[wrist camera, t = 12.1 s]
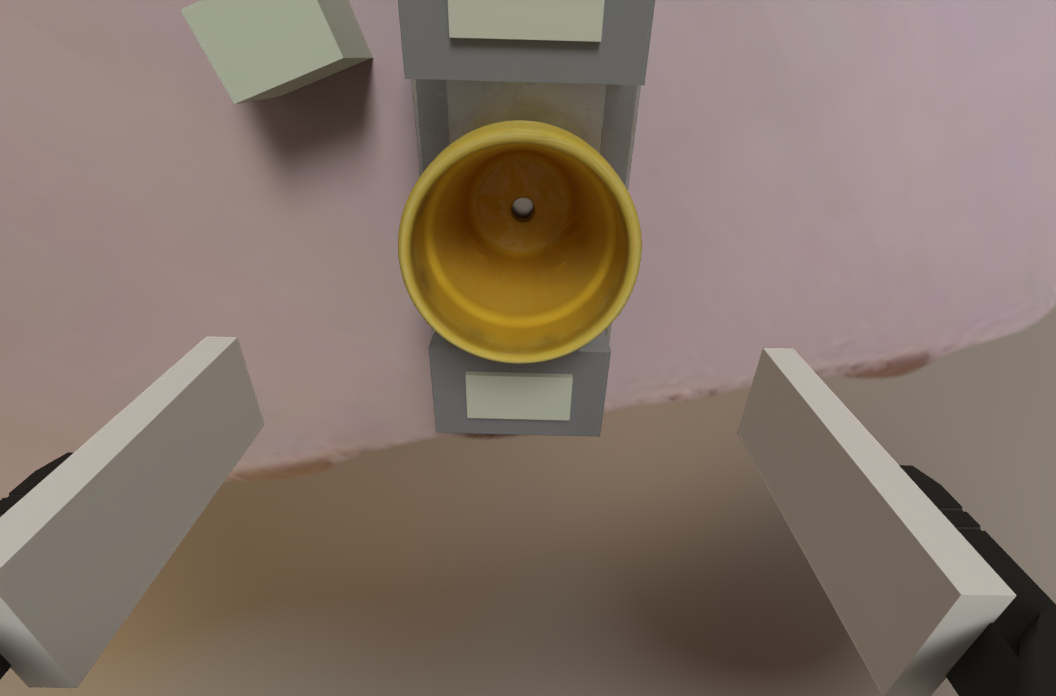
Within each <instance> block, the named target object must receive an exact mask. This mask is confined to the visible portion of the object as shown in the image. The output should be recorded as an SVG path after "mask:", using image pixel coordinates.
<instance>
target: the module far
mask: <svg viewBox="0 0 1056 696" xmlns="http://www.w3.org/2000/svg"><path fill="white" fill-rule="evenodd" d="M610 354H611V352H610V348H609V344H608V340H607V336H606V332H605V330H604V331H603V332H602V333H601V334H600V335H599V336H597V337H596V338H595V339H594V340H592V341H591V342H589V343H588V344H586V345H585V346H583V347H581V348H579V349H578V350H576V351H574V352H572V353H569V354H567V355H564V356H562V357H559V358H556V359H552V360H548V361H543V362H536V363H521V364H515V363H504V362H497V361H492V360H488V359H485V358H481V357H479V356H476V355H473V354H471V353H468V352H466V351H464V350H462V349H460V348H458V347H457V346H455V345H453V344H452V343H450V342H449V341H447V340H446V339H444V338H443V337H442V336H441V335H439V334H438V333H437V332H436V331H435V332H434V335H433V337H432V340H431V343H430V346H429V355H430V367H431V378H432V389H433V400H434V412H435V423H436V432H442V433H481V434H520V435H559V436H560V435H561V436H599V437H600V432H601V425H602V417H603V409H604V401H605V393H606V385H607V378H608V370H609V362H610Z"/></svg>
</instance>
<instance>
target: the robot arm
mask: <svg viewBox="0 0 1056 696" xmlns="http://www.w3.org/2000/svg"><path fill="white" fill-rule="evenodd" d="M263 426H264V421H263V418H262V415H261V412H260V408H259V405H258V402H257V399H256V396H255V392H254V389H253V386H252V383H251V379H250V376H249V373H248V370H247V367H246V363H245V360H244V357H243V354H242V351H241V347H240V344H239V341H238V338H237V337H205V338H204V339H203V340H202V341H201V342H200V343H198V344H197V345H196V346H195V347H194V348H193V349H192V350H190V351H189V352H188V353H187V354H186V355H185V356H184V357H182V358H181V359H180V360H179V361H178V362H177V363H176V364H175V365H173V366H172V367H171V368H170V369H169V370H168V371H167V372H165V373H164V374H163V375H162V376H161V377H160V378H159V379H157V380H156V381H155V382H154V383H153V384H152V385H151V386H149V387H148V388H147V389H146V390H145V391H144V392H143V393H141V394H140V395H139V396H138V397H137V398H136V399H135V400H133V401H132V402H131V403H130V404H129V405H128V406H127V407H125V408H124V409H123V410H122V411H121V412H120V413H119V414H118V415H116V416H115V417H114V418H113V419H112V420H111V421H110V422H108V423H107V424H106V425H105V426H104V427H103V428H102V429H100V430H99V431H98V432H97V433H96V434H95V435H94V436H92V437H91V438H90V439H89V440H88V441H87V442H86V443H84V444H83V445H82V446H81V447H80V448H79V449H78V450H76V451H75V452H74V453H66V454H65V455H63V456H61V457H59V458H58V459H56V460H54V461H52V462H50V463H49V464H47V465H45V466H43V467H42V468H40V469H38V470H36V471H35V472H34V473H32V474H31V475H30V476H29V477H28V478H26V479H25V480H24V481H23V482H22V483H21V484H19V485H18V486H17V487H16V488H15V489H13V490H12V491H11V492H10V493H9V497H8V498H3V499H2V500H0V679H1V678H2V677H3V676H4V674H5V673H6V672H7V671H8V669H9V668H10V667H11V669H12V670H13V671H14V672H15V673H16V674H17V675H18V676H19V677H20V678H21V679H22V680H23V681H24V682H25V683H26V685H27V686H28V687H55V688H57V687H58V688H77V687H78V686H79V684H80V683H81V682H82V680H83V679H84V677H85V676H86V675H87V673H88V672H89V670H90V669H91V668H92V666H93V665H94V663H95V662H96V660H97V659H98V658H99V656H100V655H101V653H102V652H103V651H104V649H105V648H106V646H107V645H108V644H109V642H110V641H111V639H112V638H113V637H114V635H115V634H116V632H117V631H118V629H119V628H120V627H121V625H122V623H123V622H124V621H125V619H126V618H127V617H128V616H129V614H130V613H131V611H132V610H133V608H134V607H135V606H136V604H137V603H138V601H139V600H140V599H141V597H142V596H143V594H144V593H145V592H146V590H147V589H148V587H149V586H150V585H151V583H152V582H153V580H154V579H155V578H156V576H157V575H158V573H159V572H160V571H161V569H162V568H163V566H164V565H165V563H166V562H167V560H168V559H169V558H170V557H171V555H172V554H173V552H174V551H175V549H176V548H177V547H178V545H179V544H180V542H181V541H182V540H183V538H184V537H185V535H186V534H187V533H188V531H189V530H190V528H191V527H192V526H193V524H194V522H195V521H196V520H197V518H198V517H199V516H200V514H201V513H202V512H203V510H204V509H205V507H206V506H207V505H208V503H209V502H210V500H211V499H212V497H213V496H214V495H215V493H216V492H217V490H218V489H219V488H220V486H221V485H222V483H223V482H224V481H225V479H226V478H227V476H228V475H229V474H230V472H231V471H232V469H233V468H234V467H235V465H236V464H237V462H238V461H239V460H240V458H241V457H242V455H243V454H244V453H245V451H246V450H247V448H248V447H249V446H250V444H251V443H252V441H253V440H254V438H255V437H256V436H257V434H258V433H259V431H260V430H261V429H262V427H263ZM737 434H738V436H739V437H740V439H741V441H742V443H743V444H744V446H745V448H746V450H747V452H748V454H749V455H750V457H751V459H752V461H753V463H754V464H755V466H756V468H757V470H758V471H759V473H760V475H761V477H762V479H763V481H764V482H765V484H766V486H767V488H768V489H769V491H770V493H771V495H772V497H773V499H774V500H775V502H776V504H777V506H778V508H779V510H780V511H781V513H782V515H783V517H784V519H785V520H786V522H787V524H788V526H789V527H790V529H791V531H792V533H793V535H794V537H795V538H796V540H797V542H798V544H799V546H800V547H801V549H802V551H803V553H804V554H805V556H806V558H807V560H808V562H809V564H810V565H811V567H812V569H813V571H814V573H815V574H816V576H817V578H818V580H819V582H820V583H821V585H822V587H823V589H824V590H825V592H826V594H827V596H828V598H829V599H830V602H831V603H832V605H833V607H834V608H835V610H836V612H837V614H838V616H839V618H840V620H841V621H842V623H843V625H844V627H845V629H846V630H847V632H848V634H849V636H850V637H851V639H852V641H853V643H854V645H855V647H856V648H857V650H858V652H859V654H860V656H861V657H862V659H863V661H864V663H865V665H866V666H867V668H868V670H869V672H870V674H871V675H872V677H873V679H874V681H875V683H876V684H877V686H878V688H879V690H880V692H881V694H882V695H883V696H931V695H932V694H933V692H934V691H935V690H936V689H937V688H938V687H939V686H940V684H941V683H942V682H943V681H944V680H945V679H946V677H947V679H948V680H949V682H950V683H951V684H952V686H953V687H954V689H955V690H956V692H957V693H958V695H959V696H1056V604H1055V603H1054V602H1053V601H1052V600H1051V599H1050V598H1049V597H1048V596H1047V595H1046V594H1045V593H1044V592H1043V591H1042V590H1041V589H1040V588H1039V587H1038V585H1036V583H1034V581H1033V580H1032V579H1031V578H1030V577H1029V576H1028V575H1027V574H1026V573H1025V572H1024V571H1023V570H1022V569H1021V568H1020V567H1019V566H1018V565H1017V564H1016V563H1015V562H1014V561H1013V559H1012V558H1011V557H1010V556H1009V555H1008V554H1007V553H1006V552H1005V551H1004V550H1003V549H1002V548H1001V547H1000V546H999V545H998V544H997V543H996V542H995V541H994V540H993V539H992V538H991V537H990V536H989V534H988V533H987V532H986V531H981V529H980V525H979V524H978V523H977V522H976V521H975V520H974V519H973V518H972V517H971V516H970V515H969V514H968V513H967V512H963V510H962V506H961V505H960V504H959V503H958V502H957V501H956V500H955V499H954V498H953V497H952V496H951V495H950V494H949V493H948V492H947V491H946V490H945V489H944V488H943V487H942V486H941V485H940V484H939V483H937V482H936V481H934V480H933V479H931V478H930V477H928V476H927V475H925V474H924V473H922V472H921V471H920V470H918V469H917V468H915V467H914V466H903V465H898V464H897V463H896V462H895V461H894V459H893V458H892V457H891V456H890V455H889V454H888V453H887V452H886V451H885V449H884V448H883V447H882V446H881V445H880V444H879V443H878V442H877V441H876V440H875V438H874V437H873V436H872V435H871V434H870V433H869V432H868V431H867V430H866V429H865V427H864V426H863V425H862V424H861V423H860V422H859V421H858V420H857V419H856V417H855V416H854V415H853V414H852V413H851V412H850V411H849V410H848V409H847V408H846V406H845V405H844V404H843V403H842V402H841V401H840V400H839V399H838V397H837V396H836V395H835V394H834V393H833V392H832V391H831V390H830V389H829V388H828V386H827V385H826V384H825V383H824V382H823V381H822V380H821V379H820V378H819V376H818V375H817V374H816V373H815V372H814V371H813V370H812V369H811V368H810V367H809V365H808V364H807V363H806V362H805V361H804V360H803V359H802V358H801V357H800V355H799V354H798V353H797V352H796V351H795V350H794V349H785V348H763V350H762V353H761V357H760V360H759V363H758V366H757V370H756V373H755V376H754V379H753V383H752V386H751V389H750V392H749V396H748V399H747V402H746V406H745V409H744V412H743V415H742V419H741V422H740V425H739V428H738V432H737Z"/></svg>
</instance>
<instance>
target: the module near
mask: <svg viewBox="0 0 1056 696" xmlns="http://www.w3.org/2000/svg"><path fill="white" fill-rule="evenodd" d="M654 5H655V0H398V7H399V18H400V29H401V41H402V52H403V63H404V74H405V79H432V80H468V81H504V82H540V83H576V84H612V85H644V84H645V76H646V68H647V60H648V52H649V44H650V37H651V29H652V21H653V13H654Z"/></svg>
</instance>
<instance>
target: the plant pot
mask: <svg viewBox="0 0 1056 696" xmlns="http://www.w3.org/2000/svg"><path fill="white" fill-rule="evenodd" d="M519 198H528V199H529V200H531V201H532V203H533V206H534V209H533V212H532V214H531V215H530V216H529V217H528V218H523V219H522V218H519V217H517V216H516V215H515V214H514V212H513V209H512V207H513V203H514V202H515V201H516V200H517V199H519ZM641 250H642V240H641V230H640V224H639V220H638V216H637V212H636V209H635V206H634V204H633V201H632V199H631V197H630V194H629V192H628V190H627V189H626V187H625V185H624V184H623V182H622V181H621V179H620V177H619V176H618V174H617V173H616V172H615V171H614V169H613V168H612V167H611V165H610V164H609V163H608V162H607V161H606V160H605V159H604V158H603V157H602V156H601V155H600V154H599V153H598V152H597V151H596V150H595V149H594V148H593V147H591V146H590V145H589V144H588V143H586V142H585V141H584V140H582V139H580V138H579V137H577V136H576V135H574V134H572V133H570V132H568V131H566V130H564V129H561V128H559V127H556V126H553V125H550V124H546V123H542V122H536V121H524V120H513V121H504V122H498V123H493V124H490V125H487V126H483V127H481V128H478V129H476V130H473V131H471V132H469V133H467V134H465V135H464V136H462V137H461V138H459V139H457V140H456V141H454V142H453V143H452V144H450V145H449V146H448V147H446V148H445V149H444V150H443V151H442V152H441V153H440V154H439V155H438V156H437V157H436V158H435V159H434V160H433V161H432V162H431V163H430V164H429V166H428V167H427V168H426V169H425V171H424V172H423V173H422V175H421V176H420V178H419V179H418V181H417V182H416V184H415V186H414V187H413V189H412V191H411V193H410V195H409V197H408V200H407V202H406V205H405V207H404V211H403V214H402V218H401V223H400V228H399V237H398V254H399V263H400V269H401V273H402V277H403V280H404V283H405V286H406V289H407V291H408V293H409V296H410V298H411V300H412V301H413V303H414V305H415V306H416V308H417V310H418V311H419V313H420V314H421V315H422V317H423V318H424V319H425V320H426V322H427V323H428V324H429V325H430V326H431V327H432V328H433V329H434V330H435V331H436V332H437V333H438V334H439V335H441V336H442V337H443V338H444V339H446V340H447V341H449V342H450V343H452V344H453V345H455V346H457V347H458V348H460V349H462V350H464V351H466V352H468V353H471V354H473V355H476V356H479V357H481V358H485V359H488V360H492V361H497V362H504V363H515V364H521V363H536V362H543V361H548V360H552V359H556V358H559V357H562V356H564V355H567V354H569V353H572V352H574V351H576V350H578V349H579V348H581V347H583V346H585V345H586V344H588V343H589V342H591V341H592V340H594V339H595V338H596V337H597V336H599V335H600V334H601V333H602V332H603V331H604V330H605V329H606V328H607V327H608V326H609V325H610V324H611V323H612V322H613V321H614V320H615V318H616V317H617V316H618V315H619V313H620V312H621V311H622V309H623V307H624V306H625V304H626V302H627V301H628V299H629V297H630V295H631V292H632V290H633V287H634V285H635V282H636V279H637V275H638V272H639V266H640V261H641Z"/></svg>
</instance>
